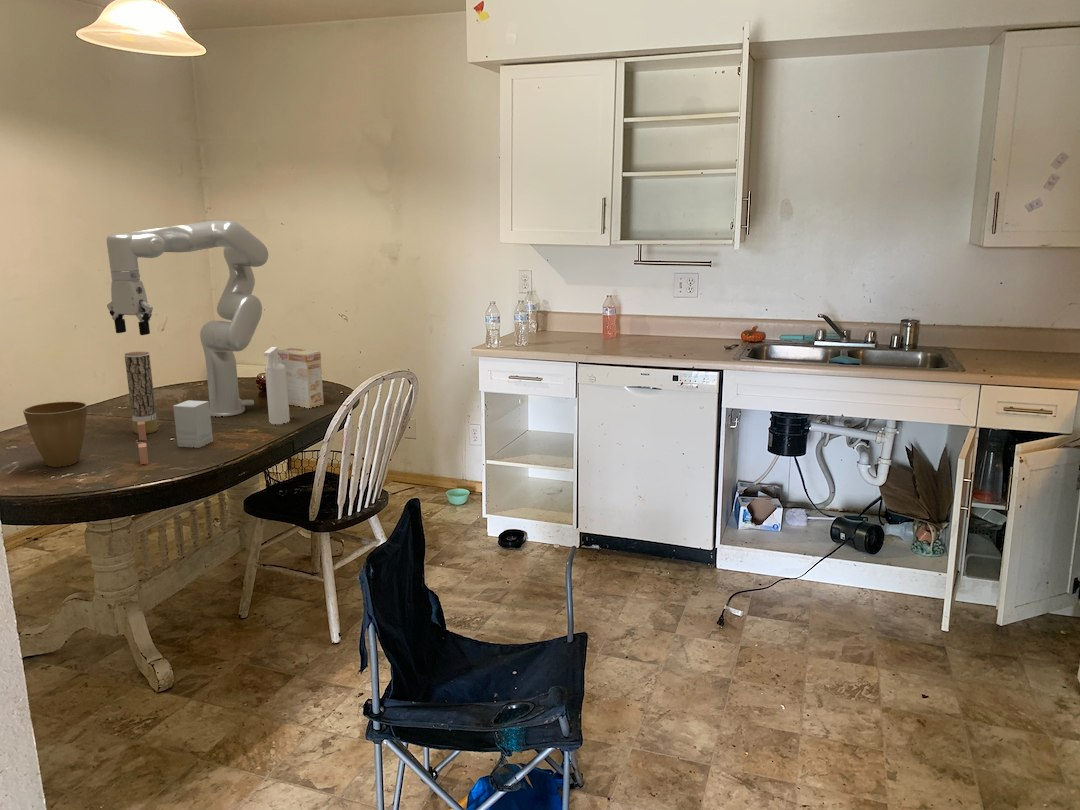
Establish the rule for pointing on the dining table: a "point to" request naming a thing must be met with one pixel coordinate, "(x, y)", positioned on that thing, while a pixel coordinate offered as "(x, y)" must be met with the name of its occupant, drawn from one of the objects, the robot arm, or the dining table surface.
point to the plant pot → (57, 430)
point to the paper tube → (141, 390)
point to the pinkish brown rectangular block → (142, 446)
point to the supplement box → (193, 423)
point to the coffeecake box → (303, 377)
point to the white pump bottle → (276, 388)
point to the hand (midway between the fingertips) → (133, 333)
